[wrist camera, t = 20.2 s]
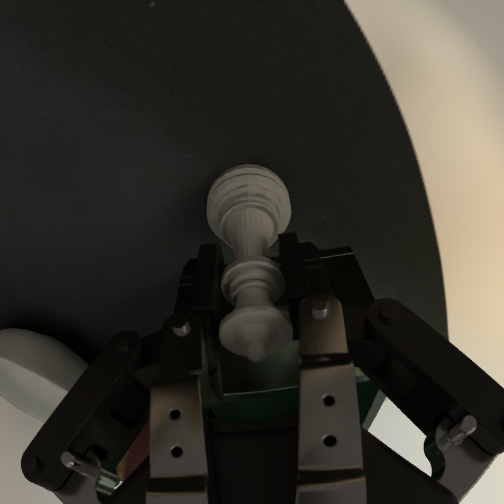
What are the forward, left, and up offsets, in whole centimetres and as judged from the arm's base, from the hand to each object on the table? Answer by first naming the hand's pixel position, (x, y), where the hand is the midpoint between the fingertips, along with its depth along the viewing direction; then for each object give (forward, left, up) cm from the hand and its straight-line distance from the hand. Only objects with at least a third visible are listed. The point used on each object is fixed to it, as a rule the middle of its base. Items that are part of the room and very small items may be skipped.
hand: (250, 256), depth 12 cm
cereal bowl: (+16, -25, -7) cm, 30 cm away
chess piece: (0, 0, -5) cm, 5 cm away
